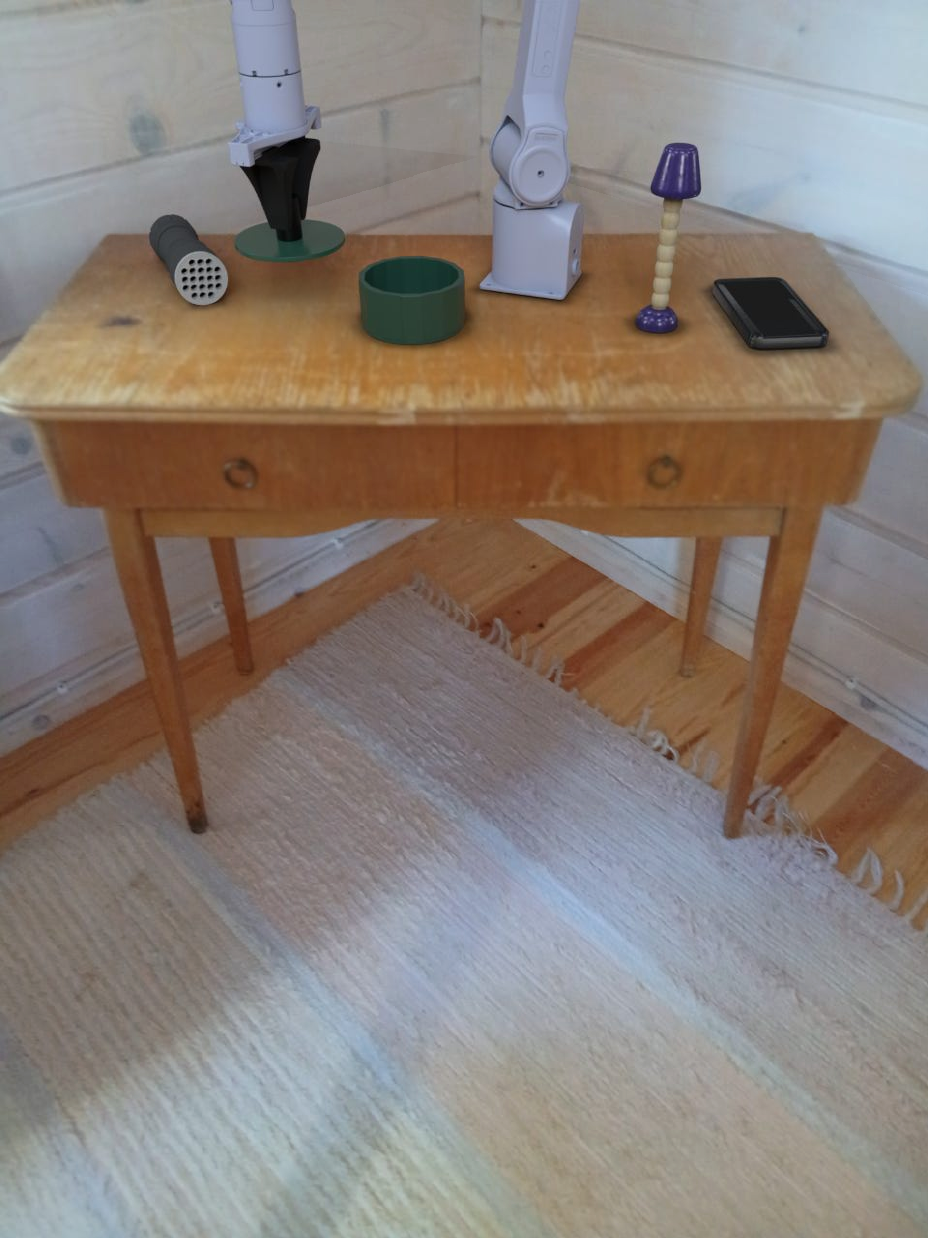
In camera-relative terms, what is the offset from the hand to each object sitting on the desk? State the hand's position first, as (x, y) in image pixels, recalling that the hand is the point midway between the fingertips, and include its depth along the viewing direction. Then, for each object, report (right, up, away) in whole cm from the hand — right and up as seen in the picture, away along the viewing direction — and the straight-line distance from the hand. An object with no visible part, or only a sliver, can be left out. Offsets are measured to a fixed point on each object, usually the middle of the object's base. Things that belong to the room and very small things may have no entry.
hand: (288, 223), depth 96 cm
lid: (0, -1, +1) cm, 2 cm away
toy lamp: (+37, -10, +1) cm, 39 cm away
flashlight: (-13, -3, +10) cm, 16 cm away
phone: (+49, -9, +2) cm, 50 cm away
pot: (+13, -10, +1) cm, 16 cm away
